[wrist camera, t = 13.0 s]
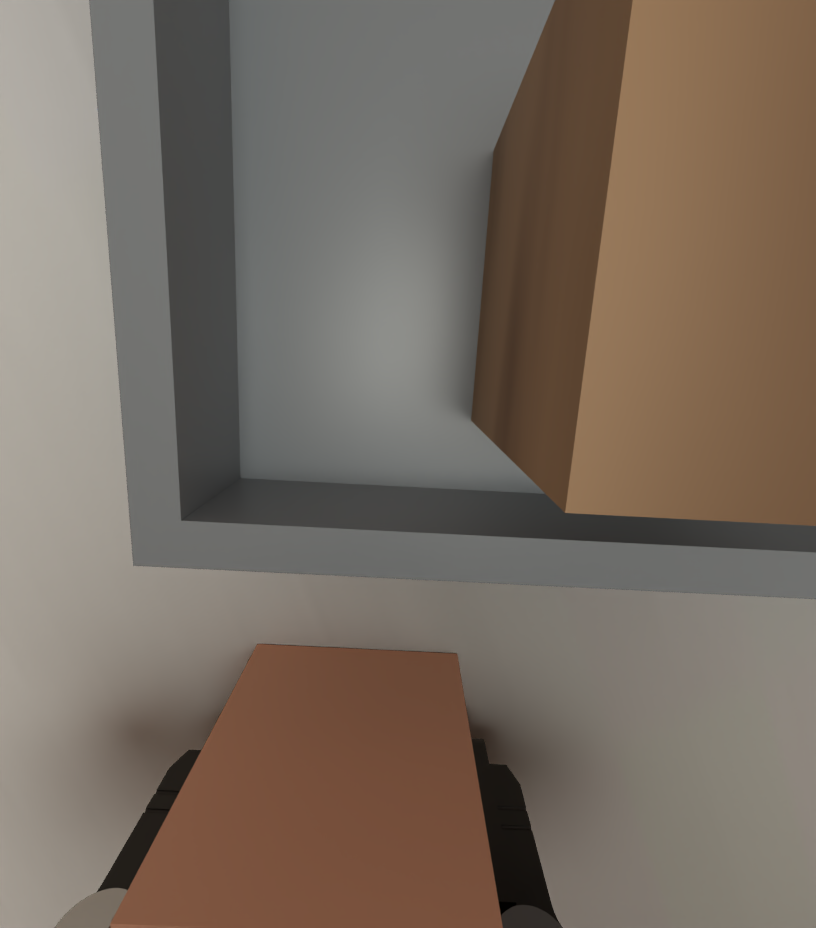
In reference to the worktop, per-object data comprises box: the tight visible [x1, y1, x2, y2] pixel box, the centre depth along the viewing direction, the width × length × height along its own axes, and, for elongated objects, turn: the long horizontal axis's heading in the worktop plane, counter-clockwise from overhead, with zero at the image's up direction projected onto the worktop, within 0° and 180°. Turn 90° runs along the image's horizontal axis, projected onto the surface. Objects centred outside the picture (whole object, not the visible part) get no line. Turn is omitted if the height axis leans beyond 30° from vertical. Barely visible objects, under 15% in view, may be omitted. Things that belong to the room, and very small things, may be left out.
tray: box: [89, 0, 816, 599], centre depth 8 cm, size 17×17×4 cm
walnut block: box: [471, 0, 816, 526], centre depth 6 cm, size 5×5×6 cm
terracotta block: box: [110, 644, 503, 928], centre depth 9 cm, size 5×5×6 cm
